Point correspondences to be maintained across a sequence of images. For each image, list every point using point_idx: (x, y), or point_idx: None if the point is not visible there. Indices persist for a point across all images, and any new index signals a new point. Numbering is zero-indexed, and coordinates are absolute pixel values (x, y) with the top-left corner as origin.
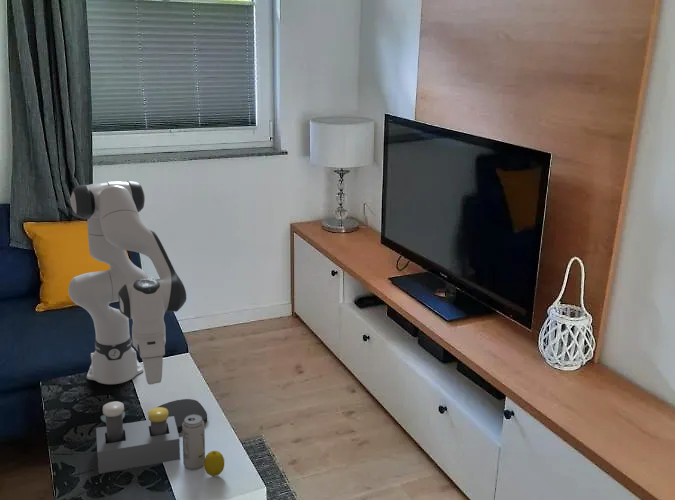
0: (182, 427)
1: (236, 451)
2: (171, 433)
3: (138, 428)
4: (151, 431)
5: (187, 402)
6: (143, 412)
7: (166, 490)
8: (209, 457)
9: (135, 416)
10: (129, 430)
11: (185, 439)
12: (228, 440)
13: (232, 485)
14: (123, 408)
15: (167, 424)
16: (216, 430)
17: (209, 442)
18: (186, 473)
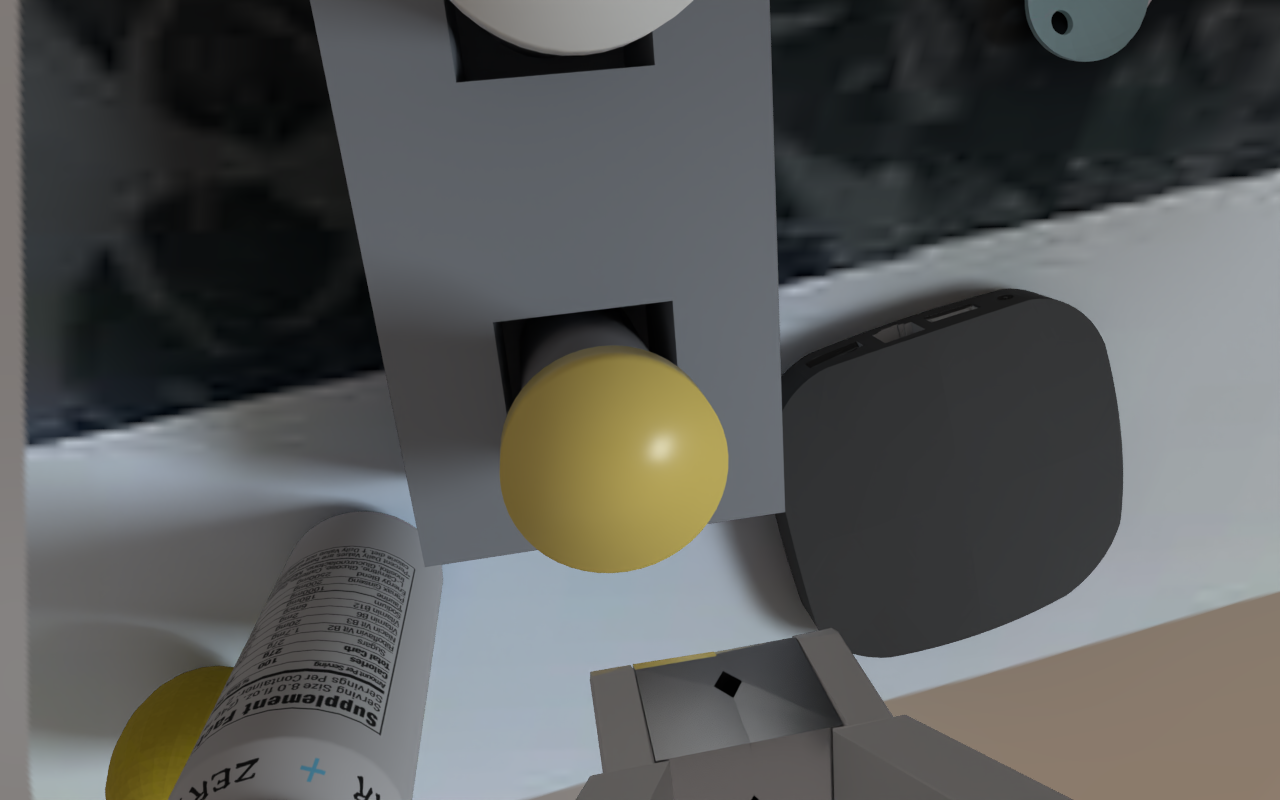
0: (256, 729)
1: (482, 793)
2: None
3: (652, 206)
4: (572, 332)
5: (1066, 536)
6: (1098, 207)
7: (73, 394)
8: (127, 788)
9: (1066, 145)
10: (635, 115)
11: (236, 680)
12: None
13: None
14: (528, 43)
15: None
16: None
17: (609, 648)
18: (273, 520)
